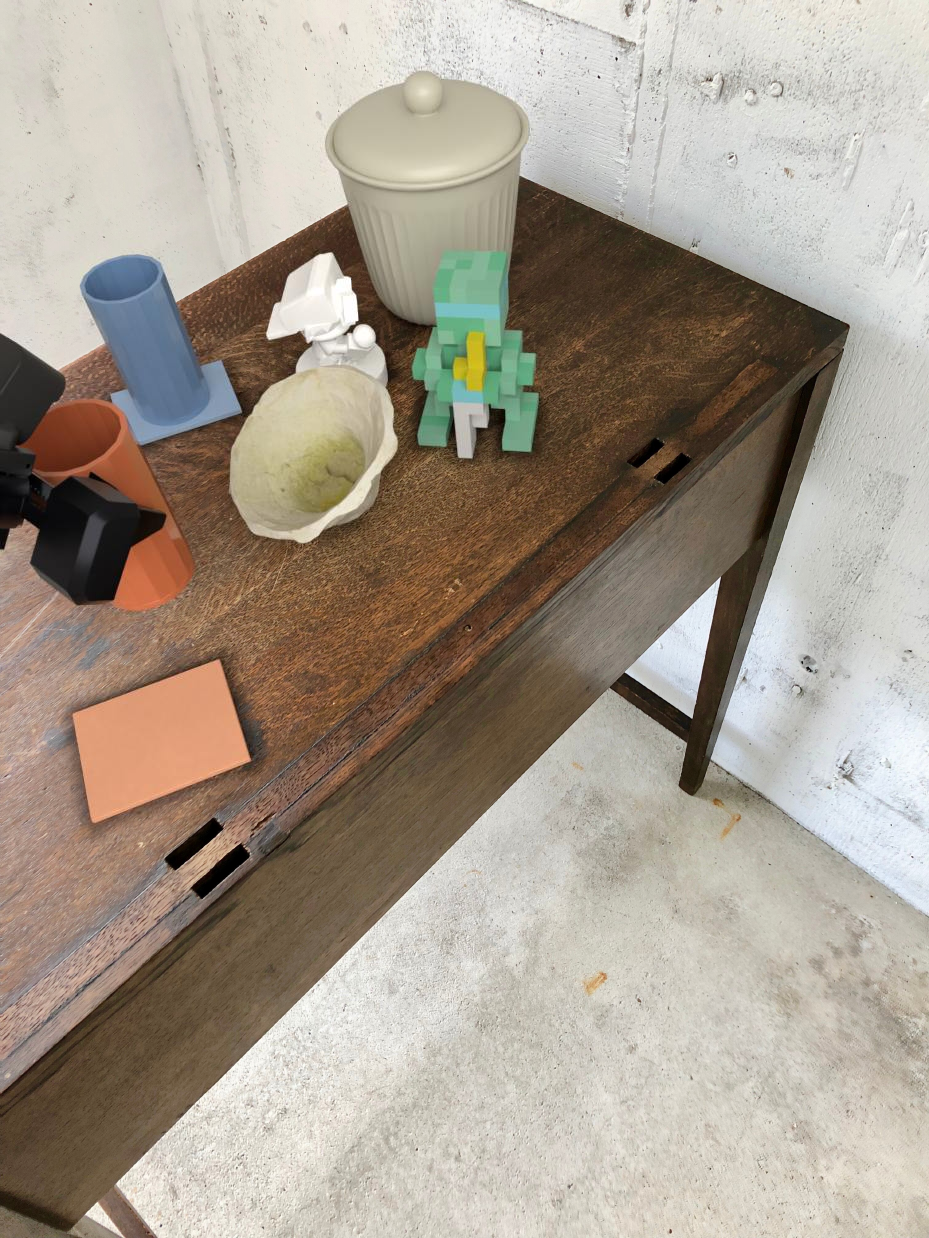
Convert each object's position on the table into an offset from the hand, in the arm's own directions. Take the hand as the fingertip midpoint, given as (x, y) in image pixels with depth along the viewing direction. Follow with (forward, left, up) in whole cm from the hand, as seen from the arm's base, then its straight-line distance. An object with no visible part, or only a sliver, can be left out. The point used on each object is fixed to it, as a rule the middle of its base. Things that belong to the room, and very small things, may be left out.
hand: (128, 497), depth 58 cm
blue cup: (+4, +25, -12) cm, 28 cm away
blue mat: (+4, +25, -13) cm, 28 cm away
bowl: (+13, +6, -13) cm, 19 cm away
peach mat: (-4, -10, -13) cm, 17 cm away
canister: (+33, +29, -13) cm, 46 cm away
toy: (+29, +10, -13) cm, 33 cm away
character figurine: (+19, +21, -13) cm, 31 cm away
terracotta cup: (-1, -1, -7) cm, 7 cm away
